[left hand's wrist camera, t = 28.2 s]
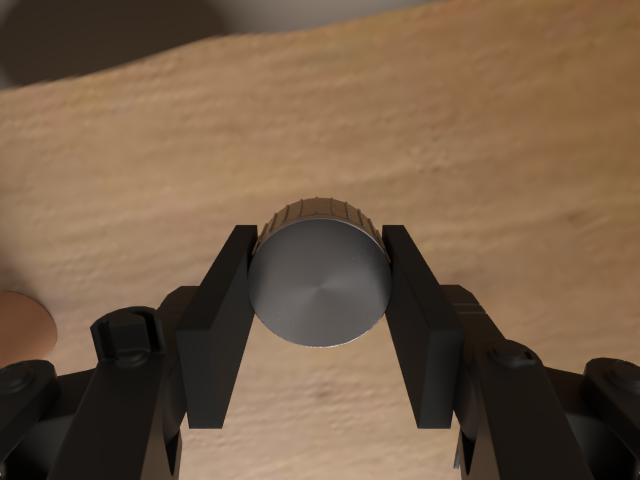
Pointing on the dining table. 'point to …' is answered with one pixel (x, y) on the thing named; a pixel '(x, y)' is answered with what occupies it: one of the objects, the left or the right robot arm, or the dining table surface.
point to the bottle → (24, 329)
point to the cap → (319, 274)
